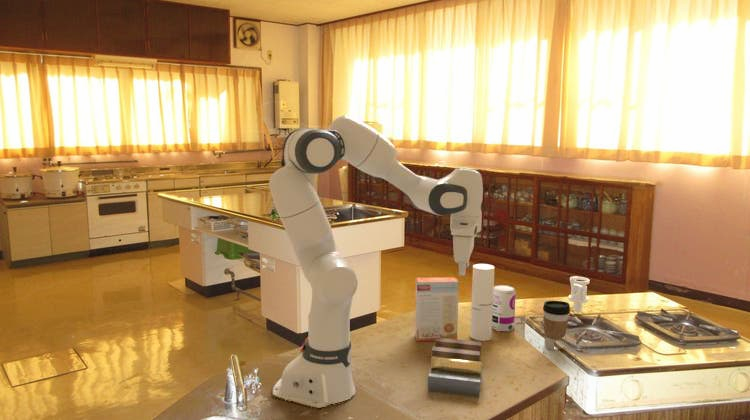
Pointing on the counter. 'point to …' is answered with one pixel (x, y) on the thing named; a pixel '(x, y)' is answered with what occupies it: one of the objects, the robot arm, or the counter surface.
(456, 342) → the walnut bearing block
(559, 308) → the coffee cup
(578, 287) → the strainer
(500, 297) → the supplement can
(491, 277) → the cylindrical container
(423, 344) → the counter surface
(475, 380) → the iron V-block
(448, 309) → the cracker box
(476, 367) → the brass axle
